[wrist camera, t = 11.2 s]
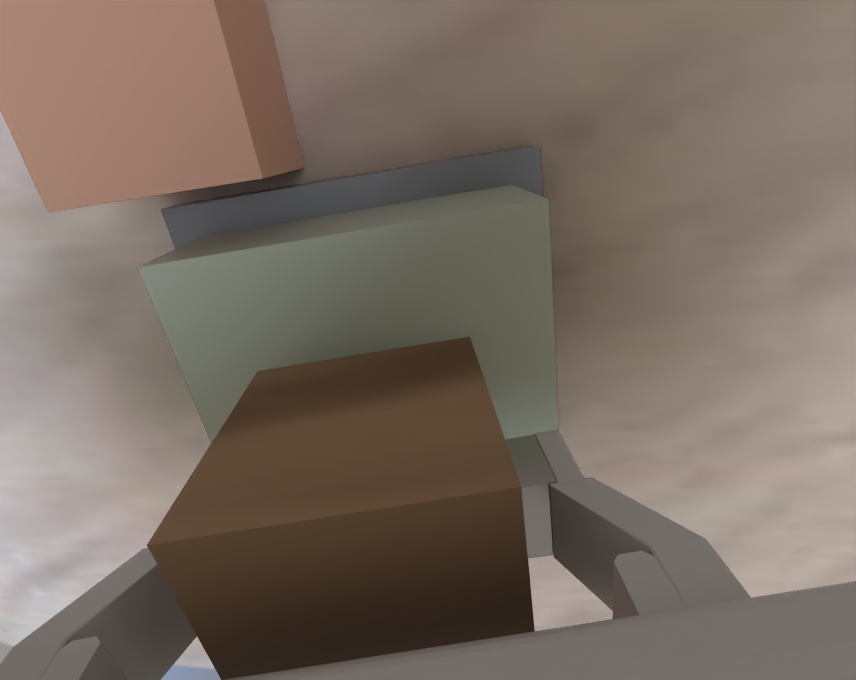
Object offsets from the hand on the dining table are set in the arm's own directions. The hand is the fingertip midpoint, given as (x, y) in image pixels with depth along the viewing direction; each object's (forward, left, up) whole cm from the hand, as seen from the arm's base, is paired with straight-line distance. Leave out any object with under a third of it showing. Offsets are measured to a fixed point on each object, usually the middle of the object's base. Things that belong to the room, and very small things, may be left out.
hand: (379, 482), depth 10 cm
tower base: (0, 0, -8) cm, 8 cm away
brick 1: (-9, -4, -8) cm, 13 cm away
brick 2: (0, 0, -2) cm, 2 cm away
